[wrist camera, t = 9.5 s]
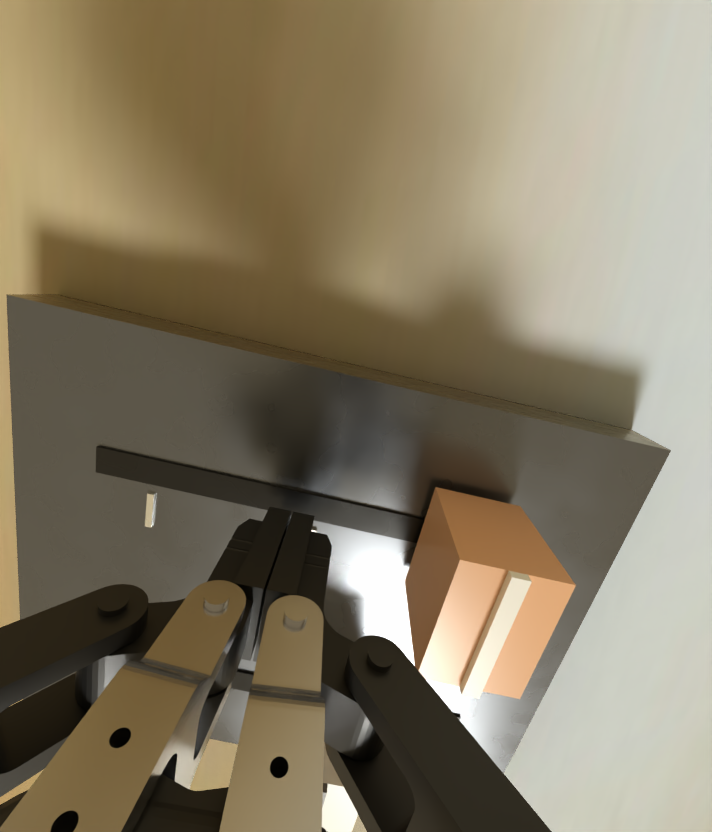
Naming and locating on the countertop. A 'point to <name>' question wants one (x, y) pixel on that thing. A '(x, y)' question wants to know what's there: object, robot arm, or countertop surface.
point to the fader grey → (335, 801)
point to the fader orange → (482, 595)
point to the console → (287, 476)
